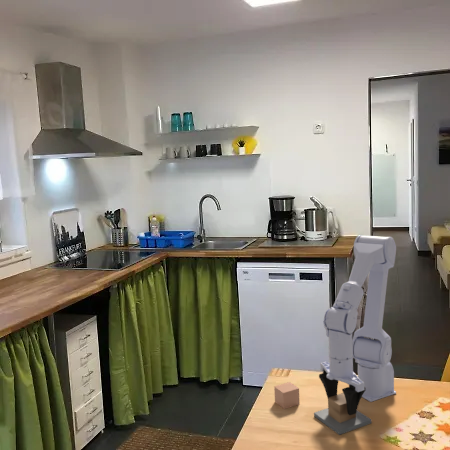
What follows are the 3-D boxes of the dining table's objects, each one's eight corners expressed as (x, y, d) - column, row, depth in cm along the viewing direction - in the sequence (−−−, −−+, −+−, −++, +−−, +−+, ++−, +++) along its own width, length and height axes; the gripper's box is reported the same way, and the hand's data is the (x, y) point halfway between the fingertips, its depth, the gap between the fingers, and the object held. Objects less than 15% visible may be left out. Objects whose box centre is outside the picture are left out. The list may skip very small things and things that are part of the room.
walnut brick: (343, 409, 128) (343, 392, 128) (355, 417, 124) (355, 399, 124) (328, 414, 126) (327, 397, 126) (340, 422, 122) (339, 405, 122)
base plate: (344, 406, 132) (344, 402, 132) (371, 423, 123) (371, 419, 123) (314, 416, 128) (314, 412, 128) (339, 434, 119) (339, 431, 119)
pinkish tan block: (290, 397, 138) (289, 381, 138) (299, 404, 134) (299, 388, 134) (274, 402, 136) (274, 386, 136) (283, 409, 132) (283, 393, 132)
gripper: (310, 349, 128) (311, 399, 130) (347, 369, 115) (348, 424, 117) (332, 343, 131) (333, 392, 133) (371, 362, 118) (371, 416, 120)
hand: (342, 407), depth 125 cm, fingers open, 7 cm apart
